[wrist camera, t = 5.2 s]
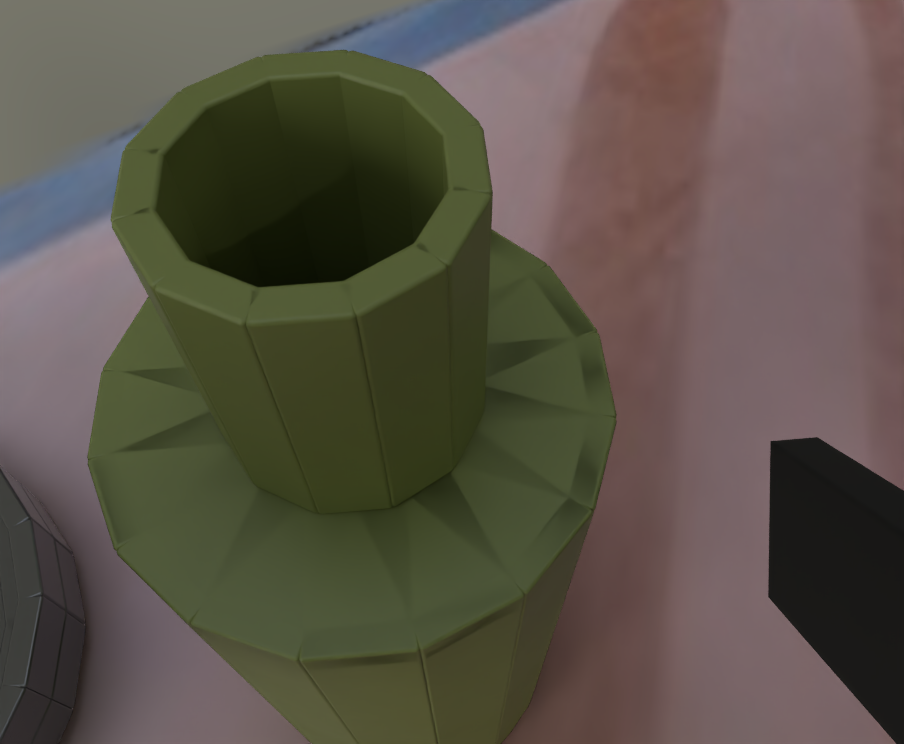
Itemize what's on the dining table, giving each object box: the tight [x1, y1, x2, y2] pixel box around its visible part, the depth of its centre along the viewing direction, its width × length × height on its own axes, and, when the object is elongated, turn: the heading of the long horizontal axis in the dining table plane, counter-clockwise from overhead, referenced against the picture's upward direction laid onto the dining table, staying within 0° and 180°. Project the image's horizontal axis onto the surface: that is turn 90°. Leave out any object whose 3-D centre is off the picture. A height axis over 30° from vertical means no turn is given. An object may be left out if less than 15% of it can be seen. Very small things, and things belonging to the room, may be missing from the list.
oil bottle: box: [87, 50, 616, 744], centre depth 15 cm, size 7×7×17 cm
